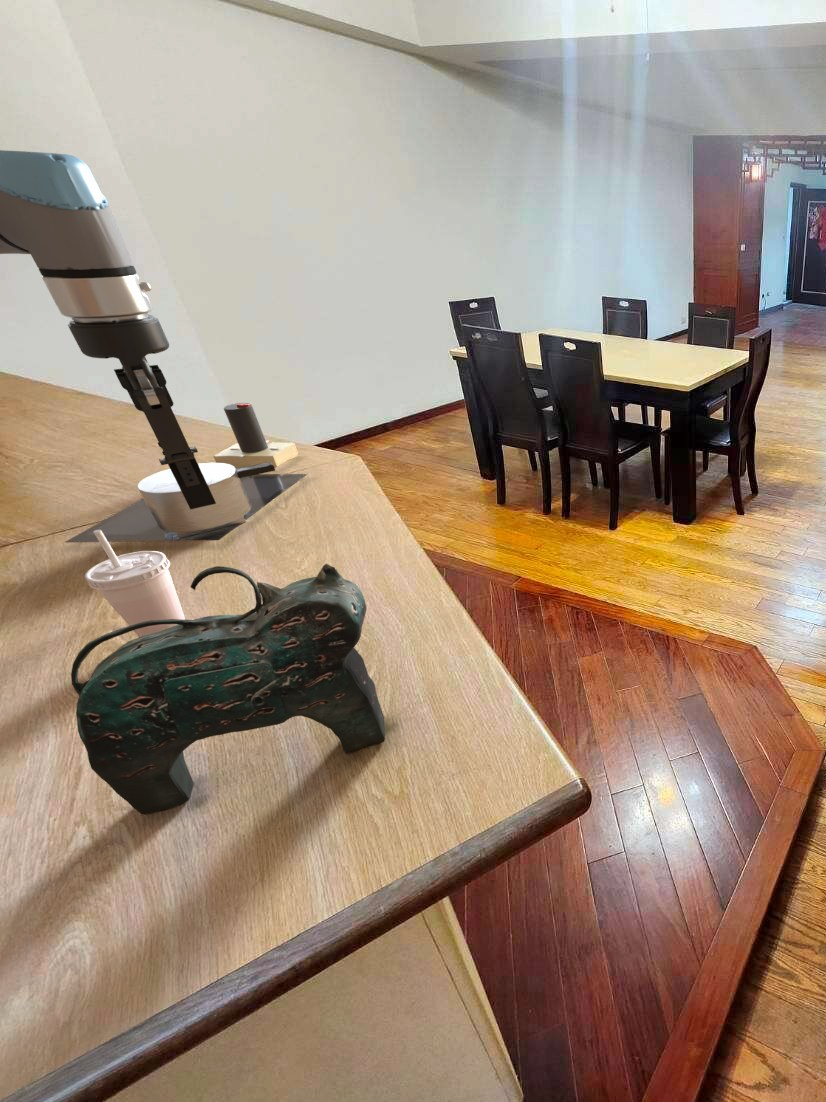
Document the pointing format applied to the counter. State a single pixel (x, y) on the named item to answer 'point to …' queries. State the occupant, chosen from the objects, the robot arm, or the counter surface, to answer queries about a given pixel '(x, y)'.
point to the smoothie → (137, 587)
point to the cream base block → (257, 455)
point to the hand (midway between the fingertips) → (202, 504)
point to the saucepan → (179, 518)
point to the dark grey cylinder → (245, 427)
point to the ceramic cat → (226, 684)
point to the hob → (143, 527)
